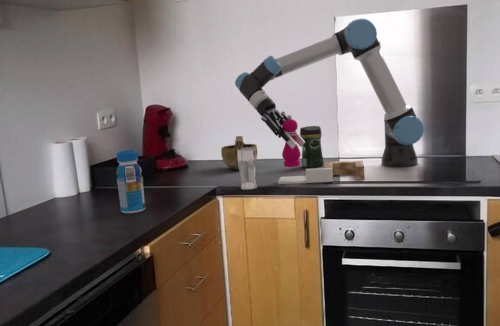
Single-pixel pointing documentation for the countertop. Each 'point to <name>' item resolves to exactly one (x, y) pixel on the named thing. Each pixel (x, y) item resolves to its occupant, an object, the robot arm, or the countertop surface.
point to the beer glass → (247, 168)
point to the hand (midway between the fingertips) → (298, 145)
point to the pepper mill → (289, 153)
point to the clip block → (347, 168)
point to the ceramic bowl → (235, 152)
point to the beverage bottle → (130, 182)
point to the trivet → (292, 180)
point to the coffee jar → (311, 147)
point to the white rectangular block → (319, 175)
